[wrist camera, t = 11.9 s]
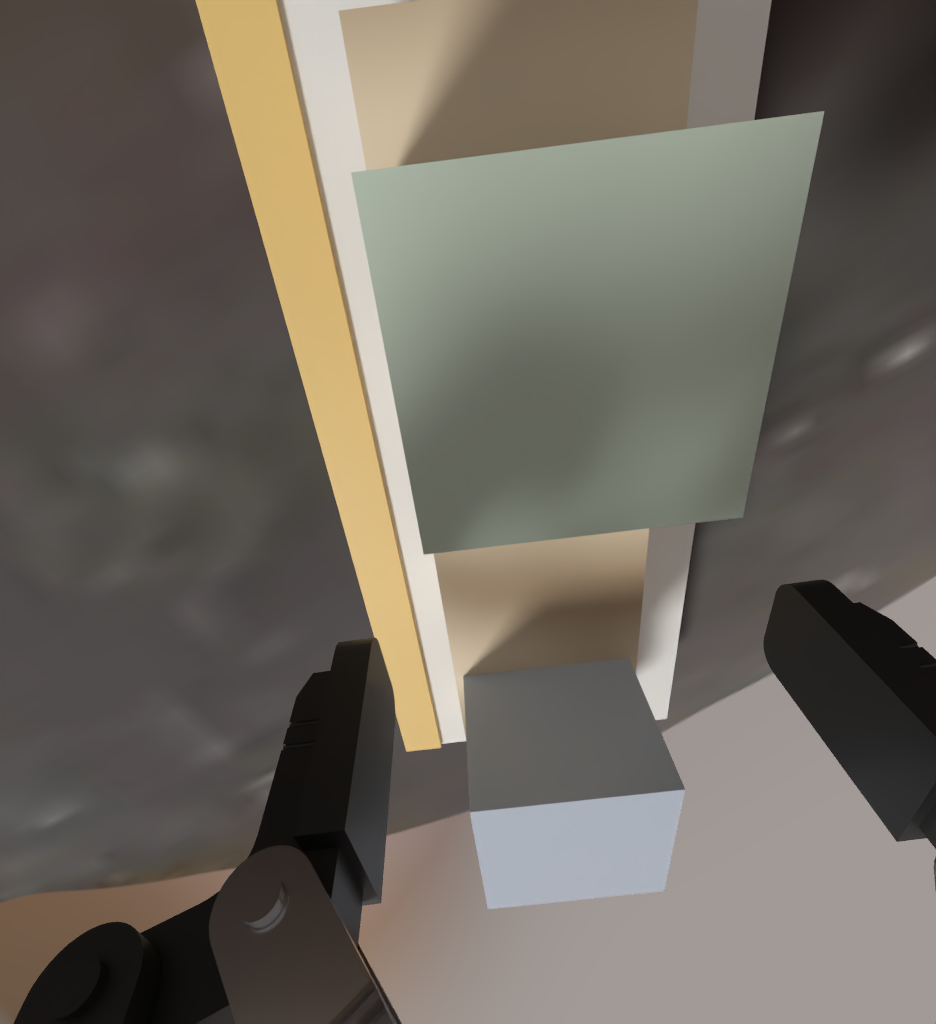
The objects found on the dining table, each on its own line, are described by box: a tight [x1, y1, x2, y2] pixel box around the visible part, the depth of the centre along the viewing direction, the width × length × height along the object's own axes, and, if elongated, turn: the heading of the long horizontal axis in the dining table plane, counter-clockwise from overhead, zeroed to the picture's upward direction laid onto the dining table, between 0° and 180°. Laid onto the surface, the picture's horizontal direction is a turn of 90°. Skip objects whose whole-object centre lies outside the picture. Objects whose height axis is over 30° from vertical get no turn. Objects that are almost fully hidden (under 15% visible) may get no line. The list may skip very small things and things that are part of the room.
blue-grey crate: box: [463, 658, 685, 909], centre depth 15 cm, size 5×5×4 cm
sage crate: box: [351, 111, 824, 555], centre depth 8 cm, size 5×5×4 cm
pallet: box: [339, 0, 698, 736], centre depth 15 cm, size 22×6×4 cm, turn 6°
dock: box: [196, 0, 772, 751], centre depth 18 cm, size 25×12×3 cm, turn 6°
